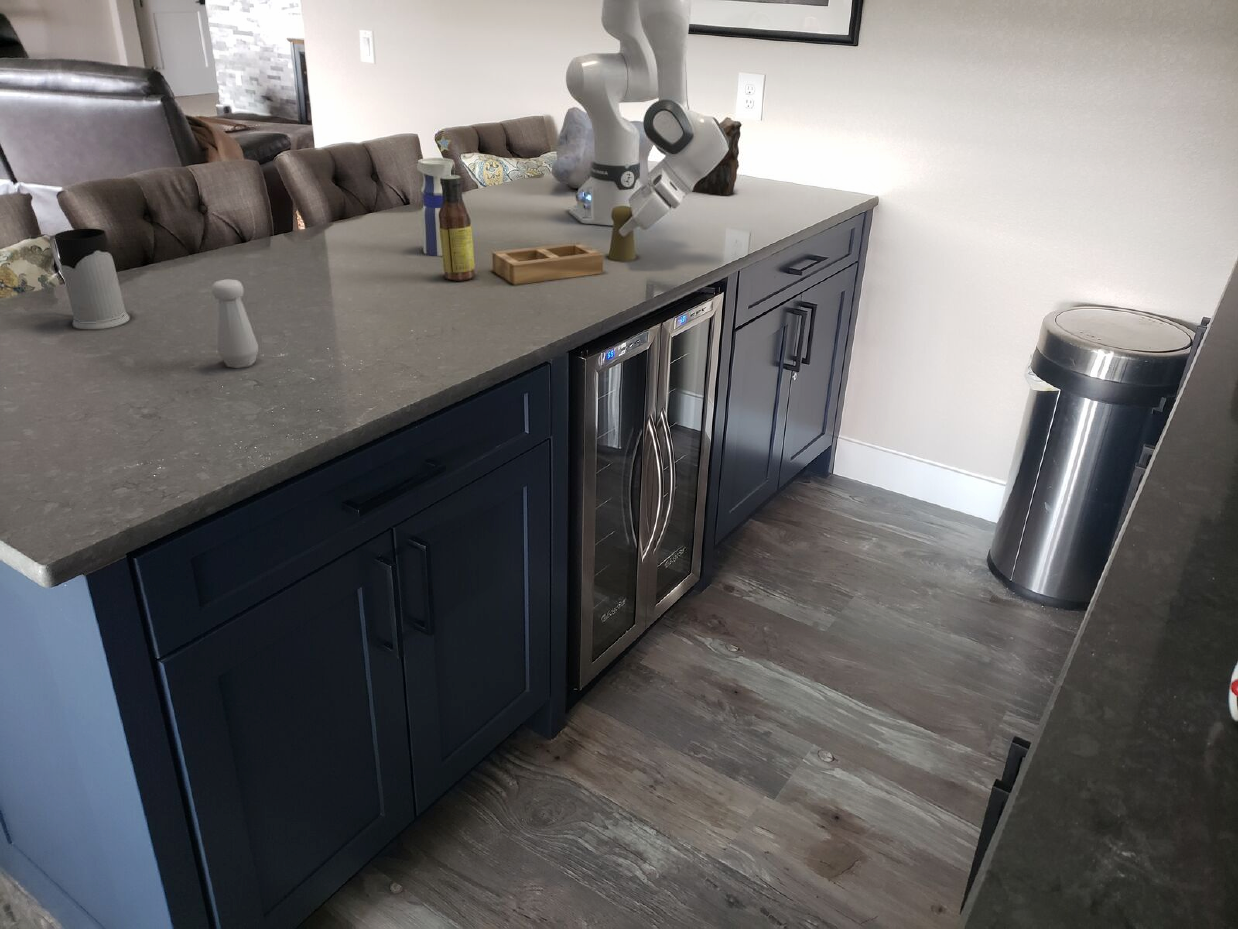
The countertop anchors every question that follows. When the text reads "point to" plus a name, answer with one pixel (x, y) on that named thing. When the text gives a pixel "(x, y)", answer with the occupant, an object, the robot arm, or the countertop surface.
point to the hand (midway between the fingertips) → (619, 229)
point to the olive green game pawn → (621, 245)
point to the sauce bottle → (455, 231)
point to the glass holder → (89, 278)
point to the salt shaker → (234, 326)
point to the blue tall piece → (433, 197)
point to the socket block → (547, 263)
